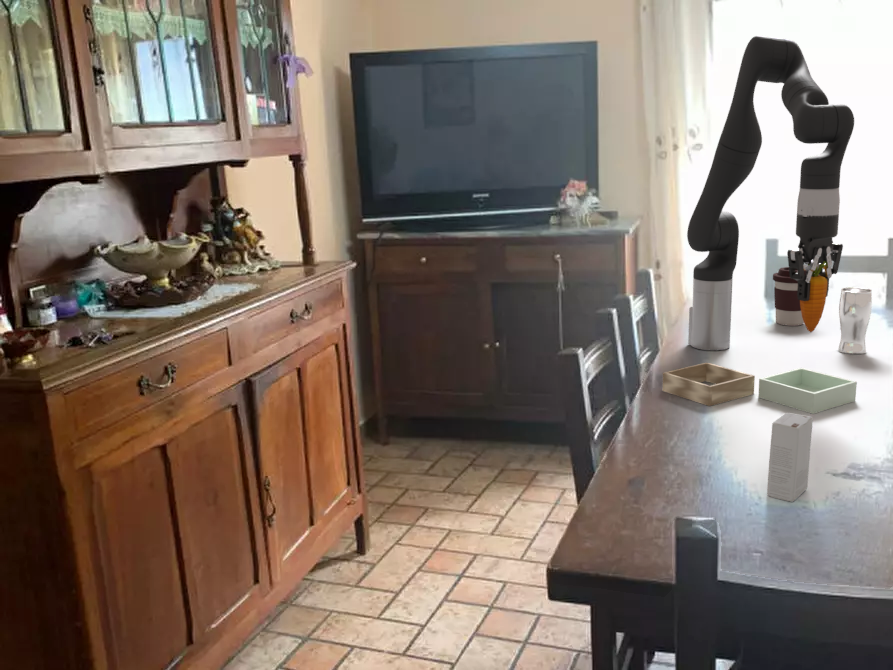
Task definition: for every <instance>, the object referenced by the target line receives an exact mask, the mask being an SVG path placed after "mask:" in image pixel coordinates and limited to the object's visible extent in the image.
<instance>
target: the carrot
mask: <svg viewBox="0 0 893 670" xmlns="http://www.w3.org/2000/svg"><path fill="white" fill-rule="evenodd" d="M807 266H809V265H808V264H807ZM823 267H825V261H824V263H823V264H820V265H819V268H818V267H816V269H815V271H813V272H812V275H811V279H810V281H809V282H810V297H809V300H808V301H801V300H800V307H801V313H802V318H803V321H804V324H803V325H805V328H806V329H807V331H808V332H809V333H812V332H813V331H814V330H815V329H816V328H817V326H818V325H819V322H820V321H821V318H822V315H823V312H824V309H825V305H826V301H827V297H826V293H827V279H826V278H825V277H823V276H820V275H819V273H820V271H821V269H822V270H823ZM817 269H818V270H817Z"/></svg>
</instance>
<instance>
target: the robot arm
mask: <svg viewBox="0 0 893 670" xmlns="http://www.w3.org/2000/svg"><path fill="white" fill-rule="evenodd" d="M741 58H742V59H741V63H740V67H739V72H738V76H737V79H736V82H735V83H736V84H735V88H734V92H733V97H732V100H731V103H730V107H729V110H728V113H727V116H726V118H725V119H726V120H725V123H724V125H723V128H722V132H721V134H720V136H719V140H718V143H717V146H716V148H715V152H714V156H713V159H712V164H711V165H710V166H711V167H710V170H709V173H708V175H707V177H706V181H705V184H704V186H703V189H702V192H701V195H700V196H699V199H698V201H697V204H696V206H695V208H694V210H693V213H692V215H691V217H690V220H689V223H688V226H687V234H686V237H687V242H688V245H689V247H690V248H691V249H692V250H693V251H695V252H698V253H701V252H702V253H706V252H708V254H707V256H706V257H705V259H704V260H702V261H701V262H699V263H698V264H697V265H695V266H694V268H693V272H692V273H693V277H692V278H693V279H692V281H693V282H692V306H690V307H689V311H688V335H687V336H688V339H687V340H688V342H687V343H688V345H689V346H691V347H692V348H694V349H698V350H703V351H722V350H723V351H724V350H727V349H729V348H730V345H731V329H732V328H731V327H732V325H731V323H732V302H733V301H732V299H733V298H732V297H733V277H734V276H733V275H734V271H735V269H736V266H737V260H738V250H739V248H738V247H739V237H740V230H739V223H738V221H737V219H736V217H735V215H734V214H733V213H731V212H729V211H723V208H724V207H725V205H726V203H727V201H728V200H729V198H730V197H731V196H732V195H733V194H734V193H735V192H736V190H737V189H738V188H739V187H740V186H741V185H742V184H743V183H744V182H745V180H747V178H748V177H749V175H751V173H752V171H753V169H754V167H755V165H756V162H757V160H758V156H759V153H760V150H761V148H762V144H763V137H762V131H761V127H760V123H759V120H758V118H757V115H756V109H755V104H754V97H755V90H756V85H757V83H758V82H761V83H763V82H764V83H770V84H783V86H782V88H781V94H780V95H781V102H782V103H783V105H784V107H785V109H786V111H788V112H789V114H790V115H791V119H792V123H793V125H792V126H793V127H792V129H793V136H794V137H795V139H796V140H797V141H799V142H800V143H803V144H809V145H811V144H826V147H825V148H824V150H823V151H822V152H821V153H820V154H816V155H812V156H808V157H806V158H804V159H803V160H802V161H801V164H800V176H799V177H800V178H799V179H800V180H799V191H798V197H797V205H796V207H797V208H796V221H795V222H796V224H795V235H796V236H797V237H798V238H799V243H798V245H797V247H796V248H794V249H788V250H787V262H788V267H789V273H790V278H791V279H795V280H797V281H798V288H797V297H798V300H801V301H808V300H809V297H810V282H809V281H810V279H811V275H812V272H813V271H815V269H816V267H818V268H819V265H820V264H823V263H824V261H825V267H823V268H822V269H821V271H820V273H819V275H820V276H823V277H825V278H826V279H827V293H826V298H827V297H828V296H829V295H828V293H829V287H830V285H829V284H830V279H831V278H832V275H837V274H838V271H839V265H840V262H841V258H842V252H843V249H844V245H843V243H835V242H834V241H833V238H835V237H837V235H838V234H839V232H838V231H839V221H840V220H839V216H840V203H841V202H840V201H841V198H840V197H841V195H840V182H841V181H840V180H841V169H842V168H841V167H842V164H843V160H844V156H845V153H846V150H847V147H848V145H849V142H850V139H851V137H852V134H853V130H854V128H855V117H854V113H853V111H852V109H851V108H850V107H849V106H848V105H847V104H839V103H838V104H830V103H829V99H828V97H827V94H826V93H825V92H824V91H823V89H821V87H820V86H819V85H818V84H817V83H816V81H815V80H814V79H813V77H812V74H811V71H810V70H809V67H808V64H807V61H806V59H805V57H804V54H803V51H802V49H801V48H800V46H799V44H798V43H797V42H795V41H794V40H791V39H787V38H782V37H774V36H766V35H765V36H764V35H755V36H753V37H751V39H750V40H749V42H748V43H747V44H746V47H745V50H744V52H743V56H742V57H741ZM808 265H809V266H808ZM795 269H797V270H798V272H797V273H796V271H795ZM804 270H807V271H806V275H804ZM817 270H818V269H817Z"/></svg>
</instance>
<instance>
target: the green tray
mask: <svg viewBox="0 0 893 670" xmlns="http://www.w3.org/2000/svg"><path fill="white" fill-rule="evenodd" d="M857 383H858V382H857V381H855V380H852V379H847V378H844V377H839V376H835V375H831V374H827V373H823V372H820V371H815V370H811V369H808V368H802V367H799V368H795V369H791V370H788V371H784V372H779V373H776V374H771V375H768V376H765V377H764V376H763V377H761V378H759V379H758V396H757V397H758V398H759V399H763V400H766V401H769V402H772V403H775V404H776V403H777V404H778V405H783V406H784V407H785V406H786V407H788V408H789V407H790V408H792V409H796V410H799V411H803V412H806V413H810V414H812V415H814V414H817V413H820V412H823V411H826V410H830V409H832V408H836V407H840V406H843V405H846V404H849V403H854V402H856V397H857V396H856V394H857Z"/></svg>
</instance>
